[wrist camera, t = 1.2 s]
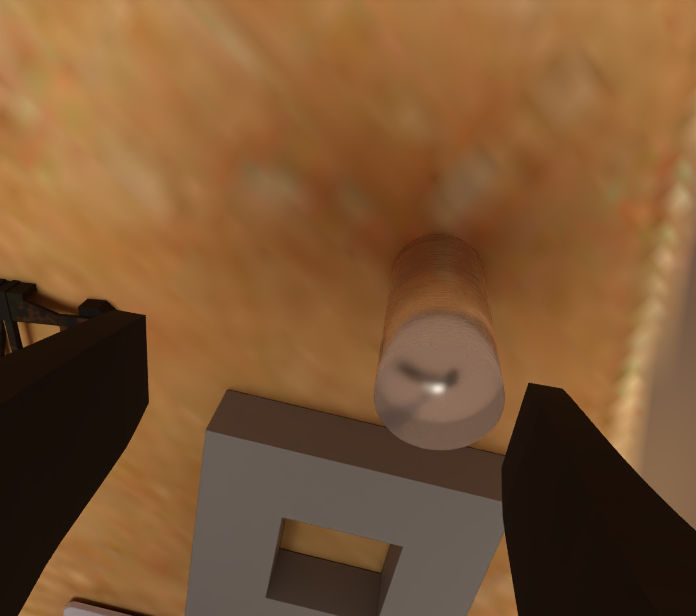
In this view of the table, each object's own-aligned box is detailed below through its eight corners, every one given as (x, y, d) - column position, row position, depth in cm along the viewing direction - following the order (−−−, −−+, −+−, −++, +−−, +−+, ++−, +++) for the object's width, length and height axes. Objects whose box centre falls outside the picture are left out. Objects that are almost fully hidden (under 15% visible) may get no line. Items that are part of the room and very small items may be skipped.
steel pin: (468, 326, 21) (482, 463, 15) (383, 305, 21) (361, 433, 15) (495, 246, 20) (522, 360, 14) (404, 225, 20) (390, 329, 14)
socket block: (433, 636, 29) (433, 690, 26) (202, 579, 29) (183, 628, 27) (508, 456, 23) (516, 504, 21) (227, 389, 24) (205, 429, 21)
